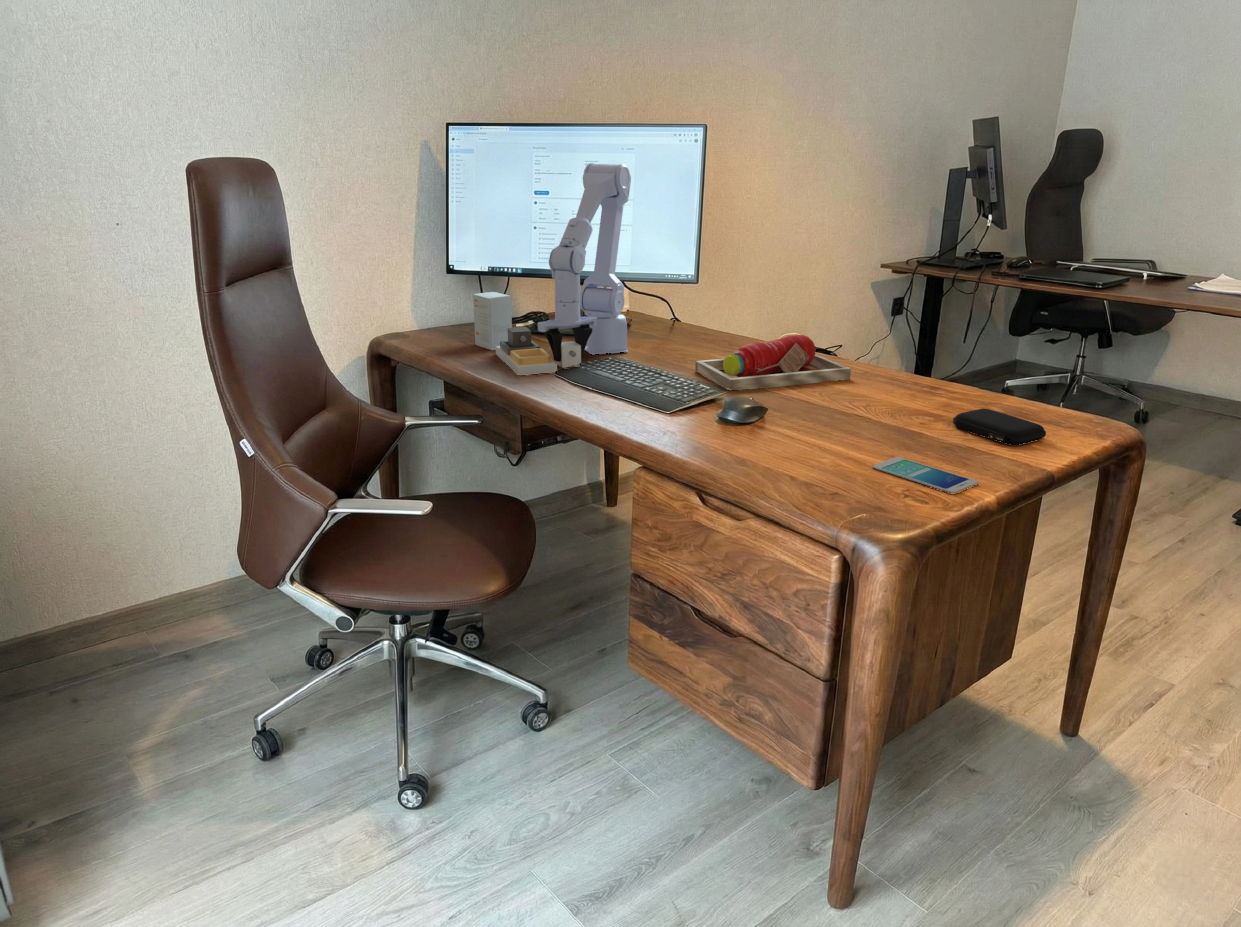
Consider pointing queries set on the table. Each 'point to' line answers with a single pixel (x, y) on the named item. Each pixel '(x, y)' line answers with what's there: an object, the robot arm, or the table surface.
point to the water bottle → (770, 357)
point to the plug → (570, 354)
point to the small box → (491, 319)
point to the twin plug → (519, 337)
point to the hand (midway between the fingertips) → (568, 359)
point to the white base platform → (526, 359)
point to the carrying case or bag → (999, 426)
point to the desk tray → (775, 375)
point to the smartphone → (925, 475)
